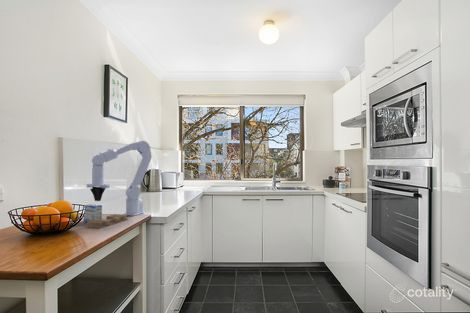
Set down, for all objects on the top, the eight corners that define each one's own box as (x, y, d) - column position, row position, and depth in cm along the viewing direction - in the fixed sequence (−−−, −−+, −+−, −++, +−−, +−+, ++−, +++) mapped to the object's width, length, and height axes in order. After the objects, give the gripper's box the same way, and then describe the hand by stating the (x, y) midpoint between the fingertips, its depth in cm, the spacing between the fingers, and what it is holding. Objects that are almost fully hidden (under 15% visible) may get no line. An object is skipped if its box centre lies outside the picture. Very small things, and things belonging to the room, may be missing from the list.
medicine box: (83, 222, 141) (83, 205, 141) (90, 220, 146) (90, 204, 146) (95, 223, 139) (95, 206, 139) (102, 221, 143) (102, 204, 143)
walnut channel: (114, 218, 149) (114, 214, 149) (127, 219, 146) (127, 215, 146) (87, 226, 132) (87, 221, 132) (100, 228, 129) (100, 222, 129)
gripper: (81, 176, 150) (81, 201, 150) (102, 177, 145) (102, 202, 145) (92, 175, 157) (92, 199, 157) (112, 176, 152) (112, 200, 152)
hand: (97, 200), depth 152 cm, fingers closed
